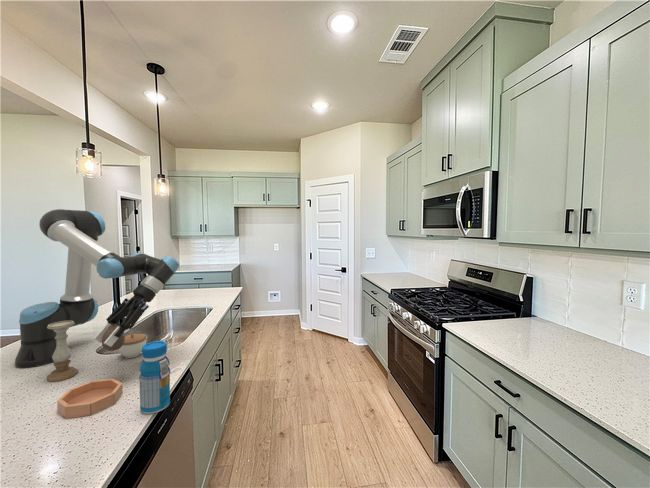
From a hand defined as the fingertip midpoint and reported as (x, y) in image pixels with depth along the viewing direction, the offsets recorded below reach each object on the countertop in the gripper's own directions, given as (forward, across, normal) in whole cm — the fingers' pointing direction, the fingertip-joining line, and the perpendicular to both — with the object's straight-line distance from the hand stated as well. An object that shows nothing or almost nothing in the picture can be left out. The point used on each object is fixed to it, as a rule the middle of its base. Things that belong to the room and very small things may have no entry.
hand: (102, 342), depth 101 cm
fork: (0, -12, -23) cm, 26 cm away
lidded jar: (-2, +17, -24) cm, 30 cm away
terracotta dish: (+16, -8, -6) cm, 19 cm away
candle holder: (+14, +21, -8) cm, 26 cm away
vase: (0, 0, -5) cm, 5 cm away
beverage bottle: (+10, -28, -12) cm, 33 cm away
